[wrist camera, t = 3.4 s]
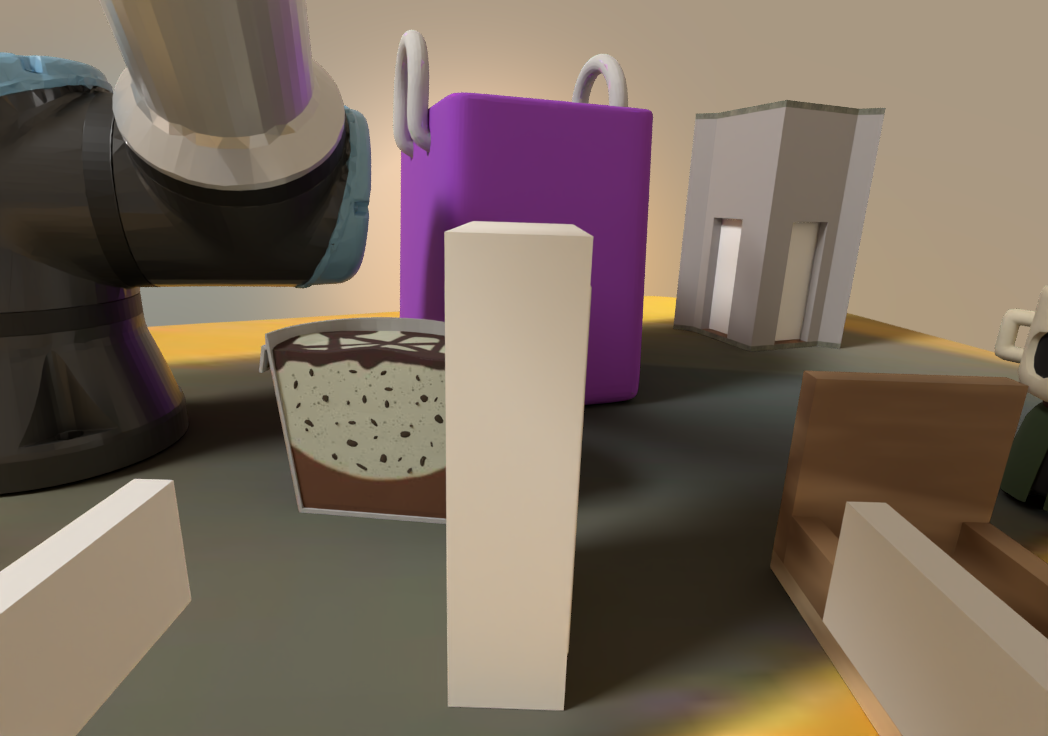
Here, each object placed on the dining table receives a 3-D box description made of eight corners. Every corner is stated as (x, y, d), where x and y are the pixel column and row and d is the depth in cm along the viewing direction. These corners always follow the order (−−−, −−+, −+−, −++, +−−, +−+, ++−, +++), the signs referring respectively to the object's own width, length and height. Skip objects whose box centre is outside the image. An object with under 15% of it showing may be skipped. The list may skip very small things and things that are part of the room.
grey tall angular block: (839, 346, 75) (884, 110, 67) (842, 363, 66) (893, 96, 58) (675, 326, 83) (698, 115, 75) (660, 340, 75) (683, 103, 67)
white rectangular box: (467, 565, 28) (469, 220, 23) (557, 568, 28) (576, 224, 23) (443, 706, 20) (439, 231, 16) (568, 710, 20) (598, 236, 16)
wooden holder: (769, 566, 28) (803, 370, 26) (952, 572, 28) (1006, 377, 26) (991, 907, 15) (1116, 567, 12) (1343, 920, 15) (1551, 581, 12)
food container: (507, 475, 37) (512, 321, 34) (494, 527, 31) (497, 346, 28) (320, 462, 38) (309, 311, 35) (272, 510, 32) (255, 333, 29)
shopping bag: (357, 350, 65) (342, 54, 57) (523, 333, 76) (531, 83, 68) (466, 438, 42) (468, -35, 34) (681, 395, 53) (722, 30, 45)
